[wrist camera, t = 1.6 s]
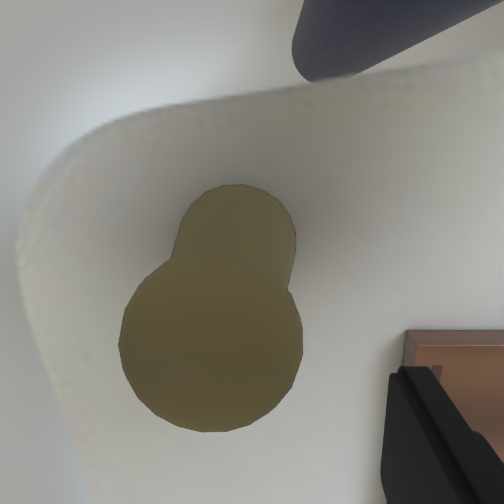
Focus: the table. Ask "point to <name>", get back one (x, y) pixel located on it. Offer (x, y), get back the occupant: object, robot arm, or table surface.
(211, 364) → the olive tapered rounded piece
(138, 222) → the table surface
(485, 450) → the robot arm
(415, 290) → the table surface
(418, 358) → the cutting board
